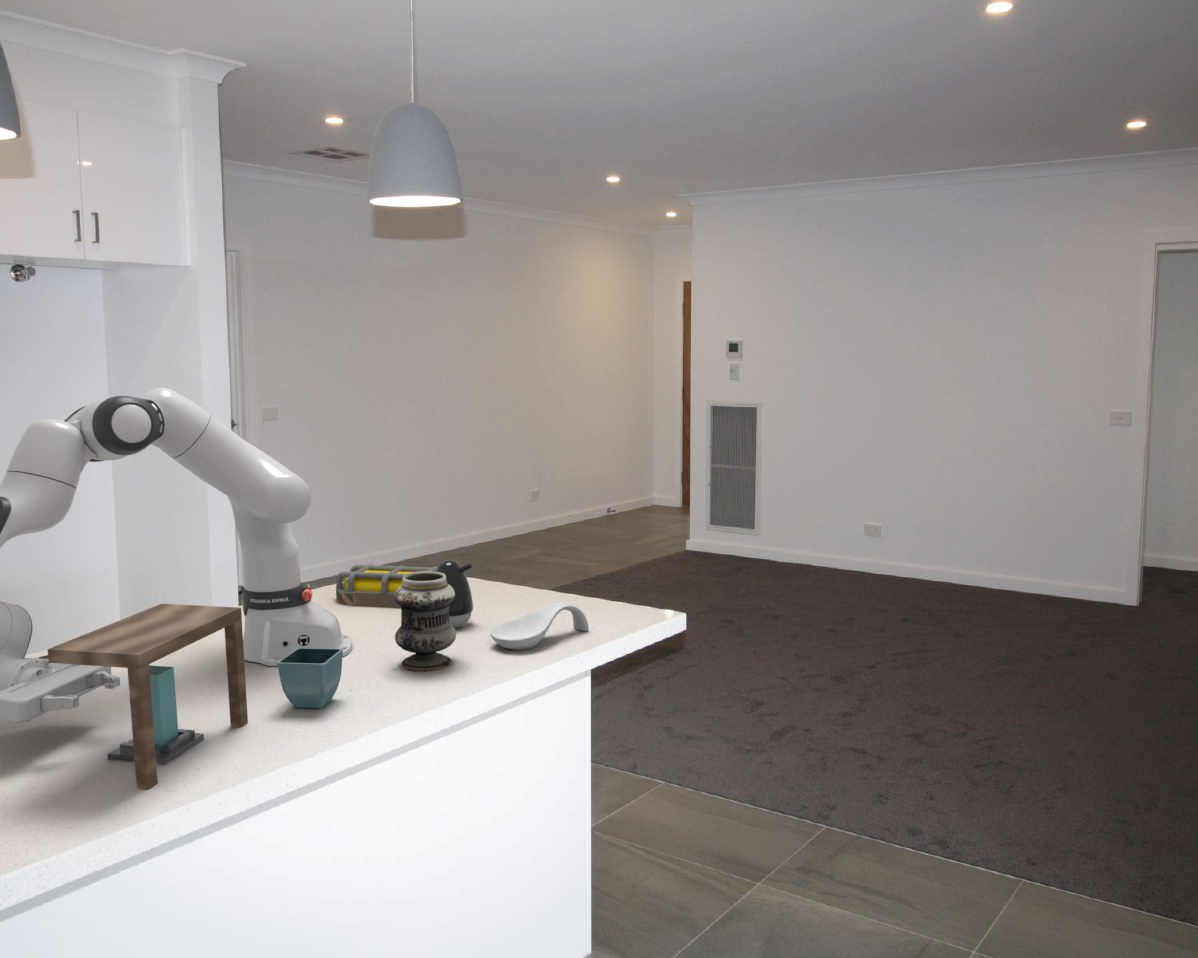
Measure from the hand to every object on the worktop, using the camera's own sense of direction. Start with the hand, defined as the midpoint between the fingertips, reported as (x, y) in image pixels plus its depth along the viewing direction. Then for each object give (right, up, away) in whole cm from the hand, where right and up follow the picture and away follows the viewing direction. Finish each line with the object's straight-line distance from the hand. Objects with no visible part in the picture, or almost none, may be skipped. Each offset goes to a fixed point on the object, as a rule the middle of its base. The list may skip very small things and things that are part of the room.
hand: (97, 692), depth 160 cm
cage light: (+29, +3, +91) cm, 96 cm away
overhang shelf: (+10, -9, -1) cm, 13 cm away
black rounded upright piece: (+47, +1, +67) cm, 82 cm away
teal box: (+10, -8, -1) cm, 13 cm away
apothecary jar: (+46, -3, +41) cm, 61 cm away
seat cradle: (+10, -9, -1) cm, 13 cm away
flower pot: (+29, -6, +19) cm, 35 cm away
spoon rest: (+67, -1, +56) cm, 88 cm away
